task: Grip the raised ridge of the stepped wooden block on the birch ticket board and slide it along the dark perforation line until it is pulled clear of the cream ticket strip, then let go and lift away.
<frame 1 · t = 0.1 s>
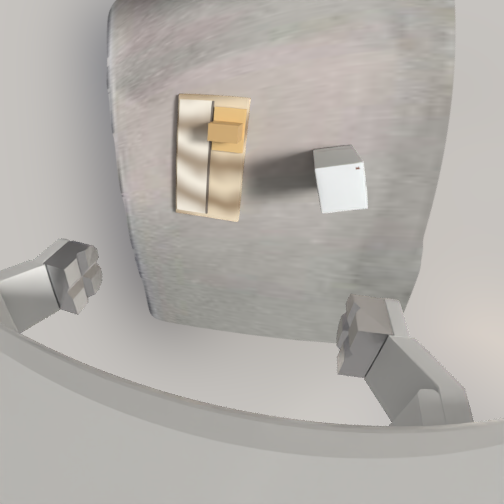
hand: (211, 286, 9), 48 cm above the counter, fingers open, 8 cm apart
ticket board: (210, 157, 56), on the counter
stepped wooden block: (226, 131, 49), point 4 cm above the counter, slide at 0.0 cm
supplement box: (335, 165, 53), on the counter
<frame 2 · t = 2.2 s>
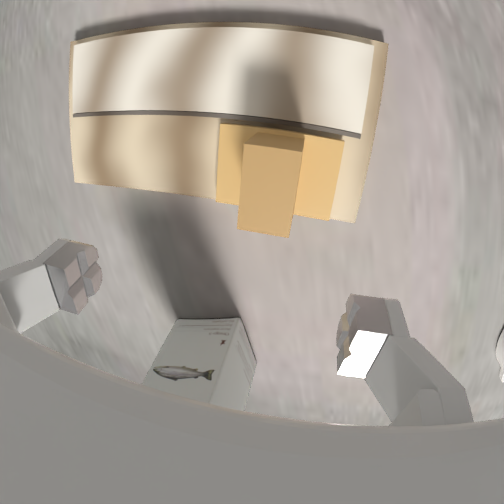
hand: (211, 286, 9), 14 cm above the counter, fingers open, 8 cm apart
ticket board: (201, 109, 20), on the counter
stepped wooden block: (273, 179, 18), point 4 cm above the counter, slide at 0.0 cm
supplement box: (218, 340, 32), on the counter
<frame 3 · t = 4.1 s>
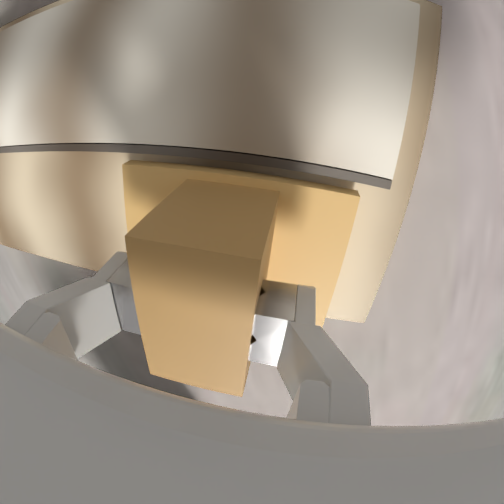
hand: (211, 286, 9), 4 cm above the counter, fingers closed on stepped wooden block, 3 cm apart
ticket board: (106, 134, 11), on the counter
stepped wooden block: (214, 280, 9), point 4 cm above the counter, slide at 0.0 cm, touching gripper
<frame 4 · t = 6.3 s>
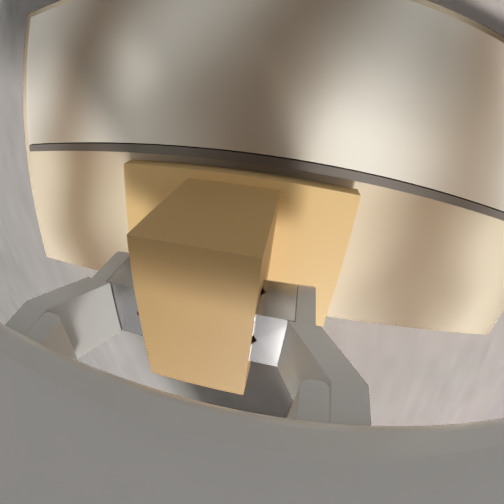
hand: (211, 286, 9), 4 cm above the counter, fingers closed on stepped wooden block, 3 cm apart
ticket board: (286, 147, 11), on the counter
stepped wooden block: (215, 278, 9), point 4 cm above the counter, slide at 7.4 cm, touching gripper
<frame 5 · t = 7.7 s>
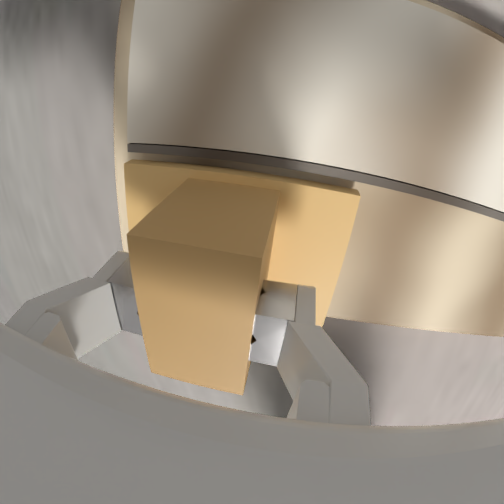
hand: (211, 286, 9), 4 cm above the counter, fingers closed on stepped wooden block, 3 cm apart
ticket board: (429, 178, 10), on the counter
stepped wooden block: (215, 278, 9), point 4 cm above the counter, slide at 13.0 cm, touching gripper
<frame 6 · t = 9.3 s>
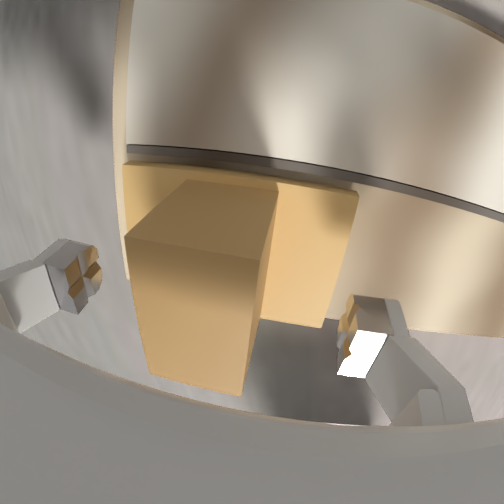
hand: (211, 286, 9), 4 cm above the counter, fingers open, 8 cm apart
ticket board: (429, 179, 10), on the counter
stepped wooden block: (213, 280, 9), point 4 cm above the counter, slide at 13.0 cm
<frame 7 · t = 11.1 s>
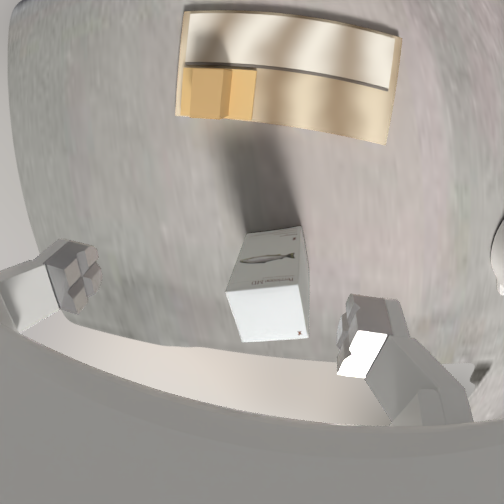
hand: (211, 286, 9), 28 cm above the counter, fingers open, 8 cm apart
ticket board: (287, 68, 29), on the counter
stepped wooden block: (212, 93, 28), point 4 cm above the counter, slide at 13.0 cm
supplement box: (278, 252, 41), on the counter
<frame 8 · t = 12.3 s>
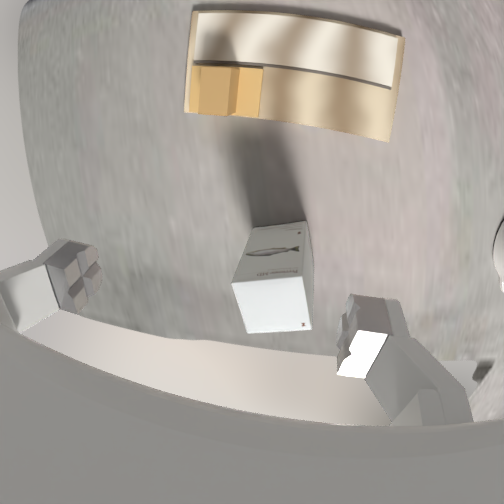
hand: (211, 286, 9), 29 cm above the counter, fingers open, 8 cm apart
ticket board: (292, 67, 30), on the counter
stepped wooden block: (220, 90, 29), point 4 cm above the counter, slide at 13.0 cm
supplement box: (284, 246, 42), on the counter
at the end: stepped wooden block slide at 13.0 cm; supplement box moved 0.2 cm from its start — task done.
